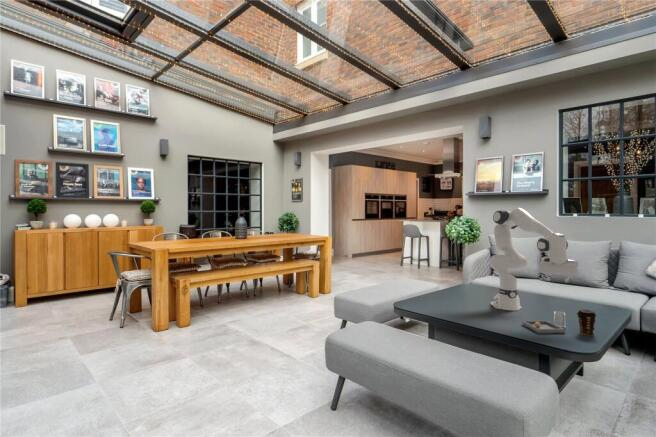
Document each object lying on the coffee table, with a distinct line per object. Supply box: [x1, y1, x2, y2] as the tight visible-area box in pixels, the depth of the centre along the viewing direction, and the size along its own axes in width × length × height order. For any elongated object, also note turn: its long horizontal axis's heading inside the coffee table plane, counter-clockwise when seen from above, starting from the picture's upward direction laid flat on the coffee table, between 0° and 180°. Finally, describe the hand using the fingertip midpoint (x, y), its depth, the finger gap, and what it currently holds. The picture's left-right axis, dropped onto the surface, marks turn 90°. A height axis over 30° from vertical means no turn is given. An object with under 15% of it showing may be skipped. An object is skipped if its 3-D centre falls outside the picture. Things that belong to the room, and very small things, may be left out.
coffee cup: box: [576, 309, 597, 336], centre depth 197 cm, size 9×8×13 cm
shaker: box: [553, 310, 567, 329], centre depth 211 cm, size 6×5×8 cm
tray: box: [522, 320, 566, 335], centre depth 205 cm, size 16×15×2 cm
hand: (557, 281), depth 216 cm, fingers open, 8 cm apart
